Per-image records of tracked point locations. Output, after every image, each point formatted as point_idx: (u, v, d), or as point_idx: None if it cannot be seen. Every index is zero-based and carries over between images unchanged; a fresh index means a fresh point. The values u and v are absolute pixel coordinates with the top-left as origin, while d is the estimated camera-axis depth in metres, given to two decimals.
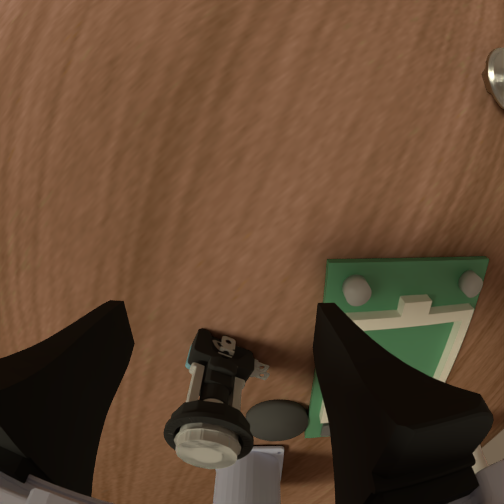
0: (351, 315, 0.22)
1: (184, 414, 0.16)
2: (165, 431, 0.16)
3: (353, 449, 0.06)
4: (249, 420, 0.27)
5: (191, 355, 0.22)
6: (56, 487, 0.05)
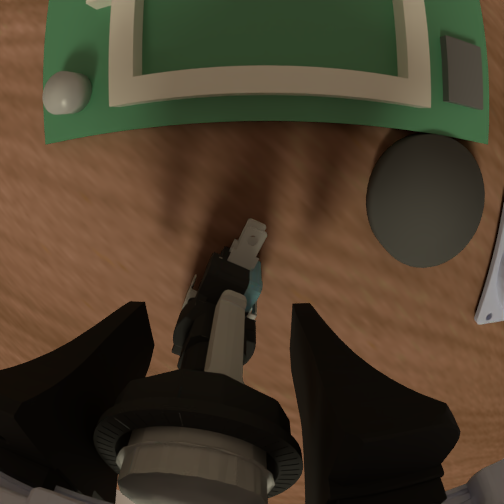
0: None
1: None
2: None
3: (317, 453, 0.06)
4: (410, 259, 0.13)
5: None
6: (56, 487, 0.05)
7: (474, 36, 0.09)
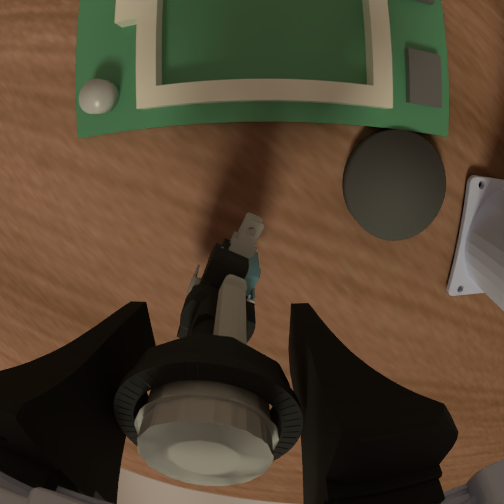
0: None
1: None
2: None
3: (314, 453, 0.06)
4: (381, 233, 0.16)
5: None
6: (56, 487, 0.05)
7: (436, 46, 0.12)
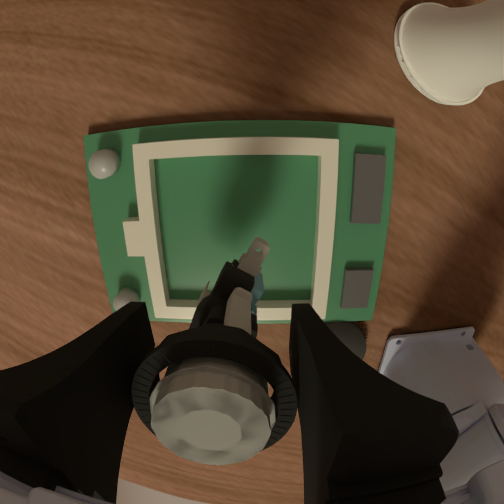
0: None
1: None
2: None
3: (315, 454, 0.06)
4: None
5: None
6: (56, 487, 0.05)
7: (374, 258, 0.21)
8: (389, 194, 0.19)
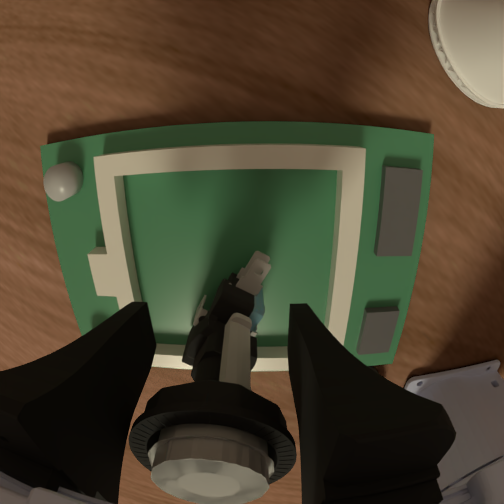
0: None
1: None
2: None
3: (312, 454, 0.06)
4: None
5: None
6: (56, 487, 0.05)
7: (400, 295, 0.16)
8: (423, 218, 0.15)
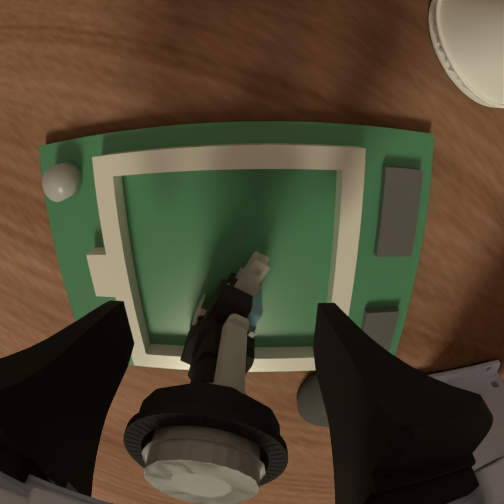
0: None
1: None
2: None
3: (353, 450, 0.06)
4: (324, 424, 0.20)
5: None
6: (56, 487, 0.05)
7: (400, 296, 0.16)
8: (423, 218, 0.15)
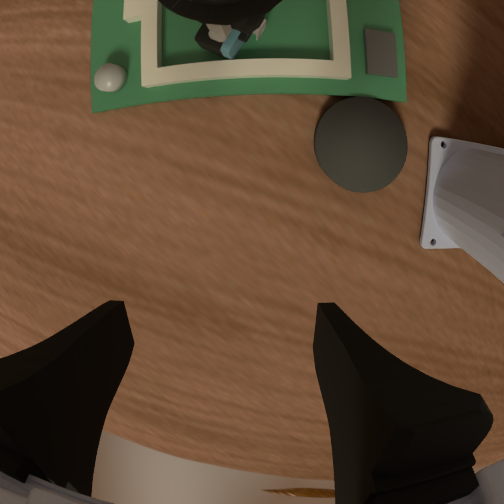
0: None
1: None
2: (195, 15, 0.08)
3: (353, 450, 0.06)
4: (349, 185, 0.19)
5: (207, 43, 0.14)
6: (56, 487, 0.05)
7: (392, 26, 0.15)
8: None
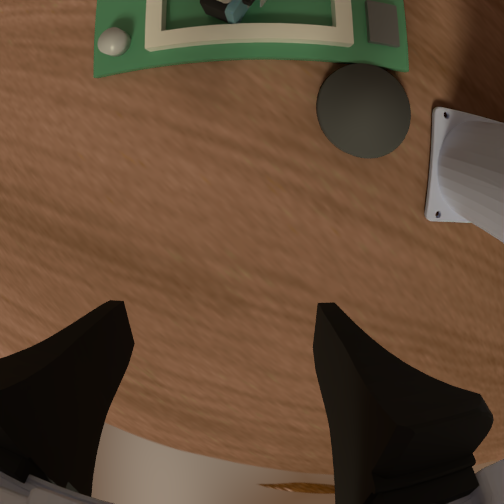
0: None
1: None
2: None
3: (353, 450, 0.06)
4: (353, 150, 0.18)
5: (211, 5, 0.13)
6: (56, 487, 0.05)
7: (393, 0, 0.14)
8: None
